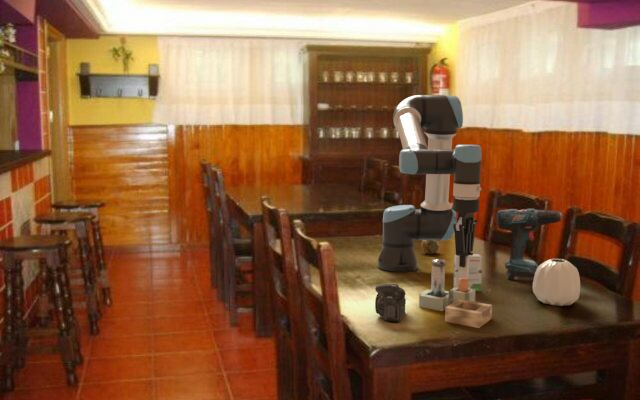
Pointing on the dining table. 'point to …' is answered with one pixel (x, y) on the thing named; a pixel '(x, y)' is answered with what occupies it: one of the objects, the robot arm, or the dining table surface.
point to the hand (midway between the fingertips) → (463, 277)
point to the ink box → (470, 271)
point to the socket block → (444, 298)
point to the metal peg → (438, 277)
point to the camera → (390, 302)
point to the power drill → (523, 237)
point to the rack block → (468, 313)
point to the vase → (557, 282)
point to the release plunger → (463, 285)
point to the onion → (430, 246)
